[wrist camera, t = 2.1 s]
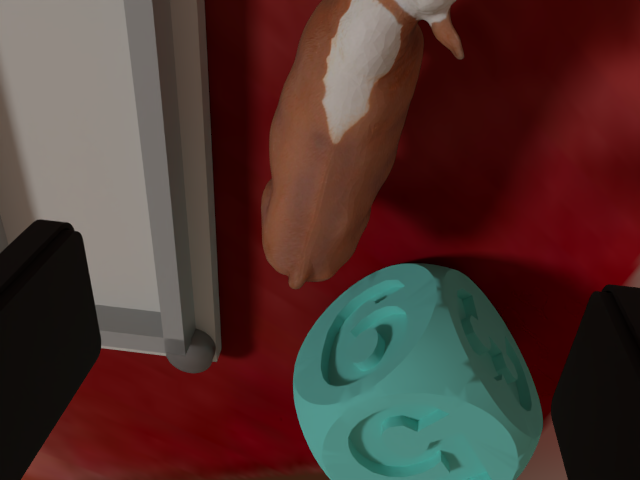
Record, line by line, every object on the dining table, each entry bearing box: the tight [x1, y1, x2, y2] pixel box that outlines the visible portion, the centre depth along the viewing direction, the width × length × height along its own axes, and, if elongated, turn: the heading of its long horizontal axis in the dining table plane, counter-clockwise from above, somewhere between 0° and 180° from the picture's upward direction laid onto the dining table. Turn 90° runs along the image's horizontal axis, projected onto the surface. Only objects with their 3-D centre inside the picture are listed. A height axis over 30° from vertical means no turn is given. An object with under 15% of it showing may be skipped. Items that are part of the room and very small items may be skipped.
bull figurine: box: [261, 0, 464, 289], centre depth 20 cm, size 4×13×8 cm, turn 160°
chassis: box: [0, 0, 221, 373], centre depth 26 cm, size 22×12×3 cm, turn 177°
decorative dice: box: [293, 263, 543, 480], centre depth 27 cm, size 8×8×8 cm
